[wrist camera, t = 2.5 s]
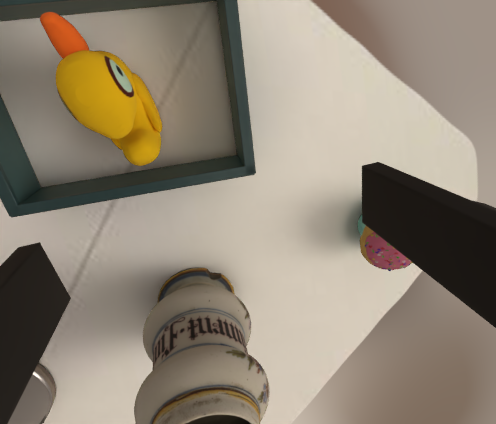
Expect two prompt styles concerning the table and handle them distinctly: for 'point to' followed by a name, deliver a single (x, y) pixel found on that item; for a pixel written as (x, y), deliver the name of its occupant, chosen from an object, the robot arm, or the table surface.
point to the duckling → (104, 93)
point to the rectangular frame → (136, 183)
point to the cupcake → (380, 250)
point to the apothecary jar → (200, 356)
